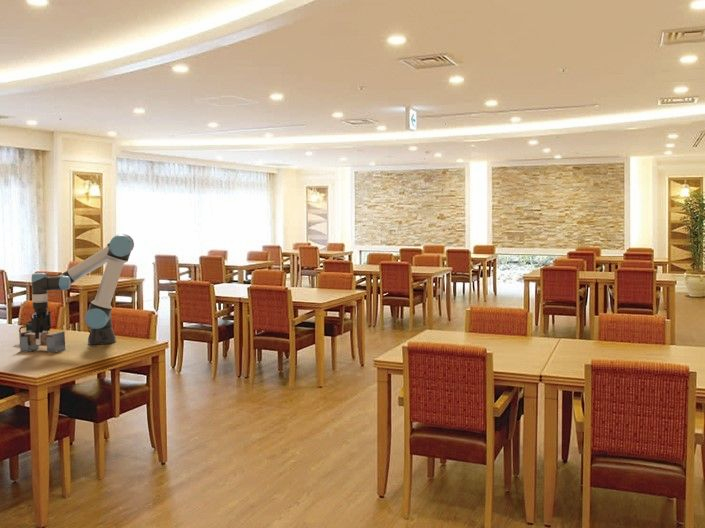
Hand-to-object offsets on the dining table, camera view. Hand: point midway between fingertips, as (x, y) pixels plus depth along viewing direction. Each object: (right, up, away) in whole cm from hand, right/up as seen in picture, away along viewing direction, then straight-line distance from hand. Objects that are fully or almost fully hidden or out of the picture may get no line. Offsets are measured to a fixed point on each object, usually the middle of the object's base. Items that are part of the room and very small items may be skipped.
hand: (42, 343), depth 380 cm
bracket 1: (-7, -4, +2) cm, 9 cm away
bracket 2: (+8, -4, -2) cm, 9 cm away
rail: (0, -1, 0) cm, 1 cm away
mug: (-16, -2, +25) cm, 30 cm away
